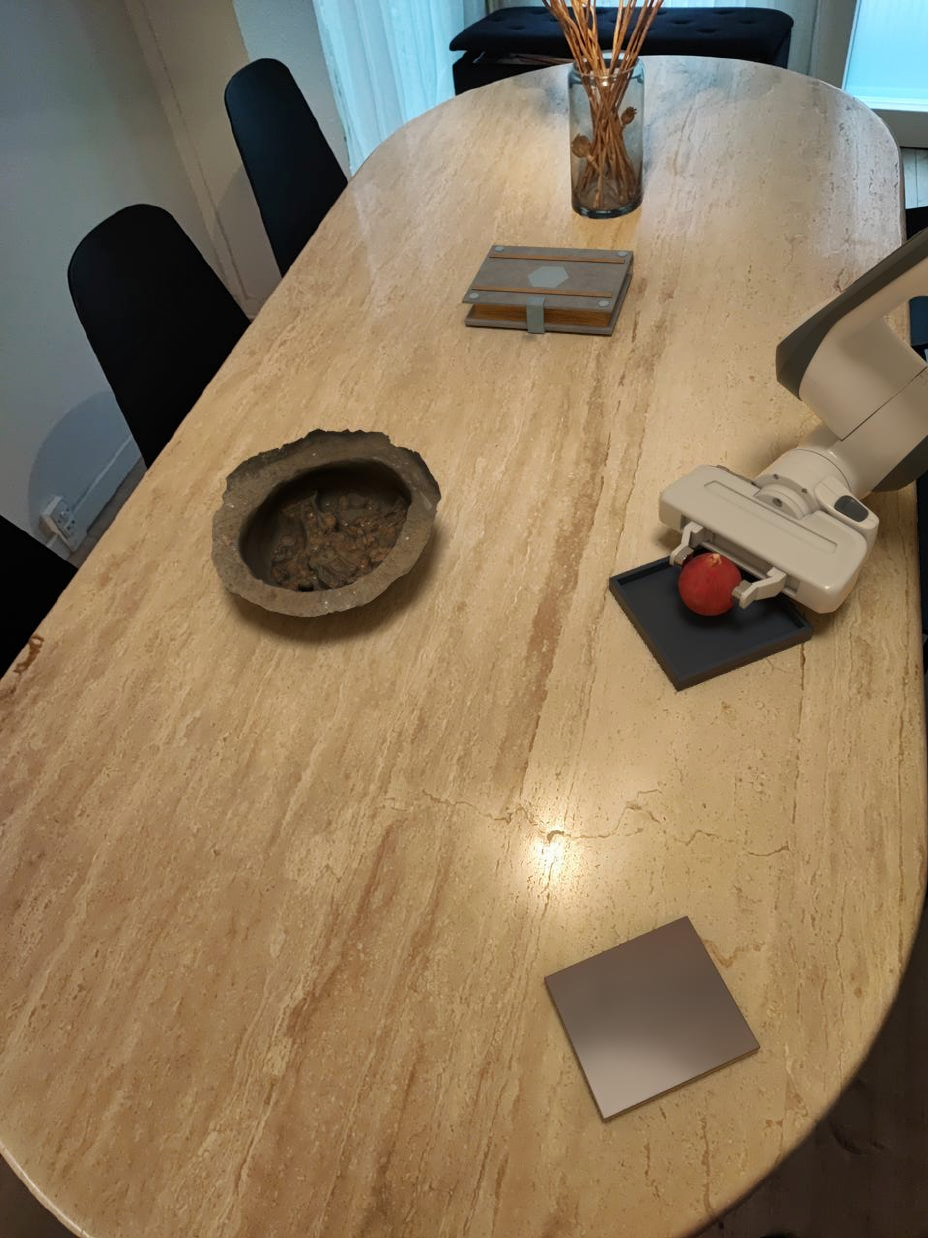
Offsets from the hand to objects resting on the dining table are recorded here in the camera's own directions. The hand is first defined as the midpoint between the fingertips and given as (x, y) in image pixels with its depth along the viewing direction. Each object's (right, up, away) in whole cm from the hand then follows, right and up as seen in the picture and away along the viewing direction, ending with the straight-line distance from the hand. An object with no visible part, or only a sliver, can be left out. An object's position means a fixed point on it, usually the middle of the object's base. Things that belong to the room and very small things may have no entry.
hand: (706, 581), depth 80 cm
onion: (+1, -3, +4) cm, 5 cm away
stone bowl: (-37, +3, +15) cm, 40 cm away
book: (-10, +42, +44) cm, 62 cm away
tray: (+1, -3, +5) cm, 6 cm away
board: (-9, -32, -18) cm, 38 cm away
